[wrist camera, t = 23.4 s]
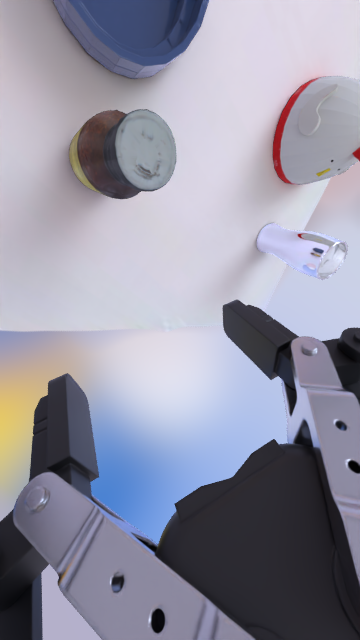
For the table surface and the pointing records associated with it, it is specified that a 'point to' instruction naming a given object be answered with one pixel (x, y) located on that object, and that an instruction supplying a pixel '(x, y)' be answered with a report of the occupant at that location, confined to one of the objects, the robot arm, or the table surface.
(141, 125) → the sauce bottle
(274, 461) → the robot arm
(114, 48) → the bowl
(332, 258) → the beer glass
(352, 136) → the kitchen timer
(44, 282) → the table surface
